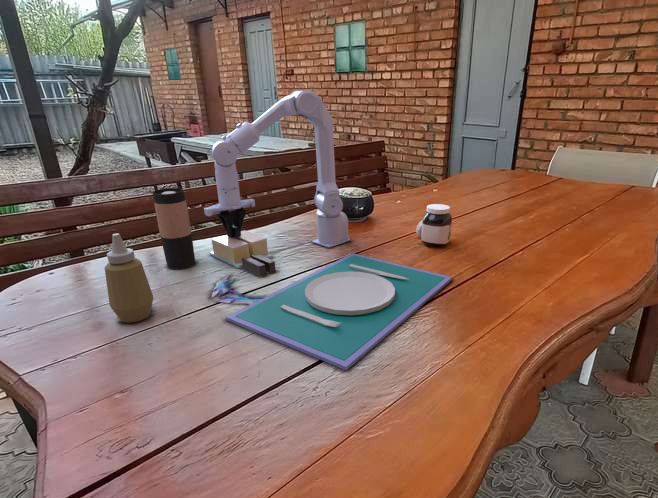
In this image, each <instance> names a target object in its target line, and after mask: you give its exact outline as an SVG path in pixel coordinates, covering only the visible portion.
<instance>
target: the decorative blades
mask: <svg viewBox="0 0 658 498" xmlns="http://www.w3.org/2000/svg"><path fill="white" fill-rule="evenodd" d="M229 277H230V275H227V276H225V277H222V278H221V279H220V280H219V281H217V282H216V283H215V286H214V288H213V289H212V290H211V293H212V294H211V299H213V298H215V297H216V296H218V297H220V298H221V299H220V300H216V302H217V303H225V304H231V305H238V304H239V305H248V306H249V305H251V304H253V303H255V302H257V301H259V300H260V299H263V298H264V297H265V296H264V295H263V296H247V295H246V296H245V294H244V293H238V292H236V291H235V290H234V289H235V287H231V284H232V283H233V282H234V281H235V279H232V280H231V279H230V280H229V279H228V278H229ZM225 295H226V296H225Z"/></svg>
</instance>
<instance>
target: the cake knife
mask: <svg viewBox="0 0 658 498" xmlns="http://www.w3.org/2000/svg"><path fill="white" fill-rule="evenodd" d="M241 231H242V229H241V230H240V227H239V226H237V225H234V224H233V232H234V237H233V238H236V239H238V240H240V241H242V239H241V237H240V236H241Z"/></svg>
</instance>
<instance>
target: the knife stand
mask: <svg viewBox="0 0 658 498" xmlns="http://www.w3.org/2000/svg"><path fill="white" fill-rule="evenodd" d="M242 265H243V267H242V270H244V271H246V272H249V273H251V274H252V275H255V276H257V277H259V278H262V277H265V276H267V274H269V275H271V274H274V273H276V272H277V269H276V261H275V260H273V259H272V258H270V259H268V258H266V257H263V256H261V255H259V254H255V255H252V259H251V258H249V257H245V258H242Z"/></svg>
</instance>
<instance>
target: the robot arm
mask: <svg viewBox="0 0 658 498" xmlns="http://www.w3.org/2000/svg"><path fill="white" fill-rule="evenodd" d="M294 116H300V117H302V118H304V119H306V121H308V122H309V123H310V124H311V125H312V126H313V127H314V141H315V155H316V169H317V184H316V187H315V189H316V191H315V195H314V197H313V201H314V205H315V207H316V209H317V211H316V229H317V230H316V231H317V238H316V239H312V240H311V243H314V244H316V245H319V246H322V247H324V248H332V247H336V246H338V245H341V244H345V243H348V242H351V238H350V237H349V218H348V216H347V214H346V212H344V211H343V209H344V203H343V200H342V199H341V196H340V189H339V188H338V184H337V183H336V163H335V142H334V141H335V140H334V123H333V121H334V120H333V117H332V115H331V114H330V112H329V110H328V108H327V107H326V106H325V103H324V102H323V98H322V97H320V95H318V94H317V93H315V92H313V91H312V90H309V89H305V90H301V89H296V90H294V91H292V92H291V93H290V94H288V95H286V96H284V97H283V98H281V99H280V100H278V101H277V102H276V103H274V104H273V105H272V106H271V107H270V108H268V109H267V110H266V111H265V112H264V113H262V114H261V115H260V116H259V117H257V118H256V119H255V120H254V121H253V122H247V121H244V122H243V123H240V122H239V123H237V124H236V125H235V126H236V128H235V129H234V130H232V131H231V132H230V133H228V134H227V135H224V134H223V136H221V139H222V140H220V141H217V142H215V143H214V144H213V145H212V148H211V152H210V154H211V157H212V159H214V165H213V166H214V175H215V184H216V190H217V198H218V203H216V204H214V205H210V206H206V207H203V212H204V215H205V216H207V217H212V216H213V215H216V216H217V218H218V219H219V220H220V222H221V224H222V225H223V228H224V230H225V232H226V235H228V236H229V237H231V238H232V237H234V232H233V224H234V225H237V226H239V227H240V230H241V231H242V228H243V227H242V226H243V223H244V219H245V217H246V216H247V210H246V208H254V207H256V202H255V201H256V200H255V199H253V198H248V199H241V193H240V184H239V183H240V182H239V175H238V170H237V165H236V162H237V159H238V156H242V155H243V154H244V153H245V152H247V151H248V150H250V148H252V147H253V146H254V145H256V144H257V143H258V142H260V135H261V134H262V133H263V132H264V131H266V130H267V129H269V128H270V127H271V126H273V125H274V124H275V123H277V122H279V121H280V120H281V119H282V118H285V117H294Z"/></svg>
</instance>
